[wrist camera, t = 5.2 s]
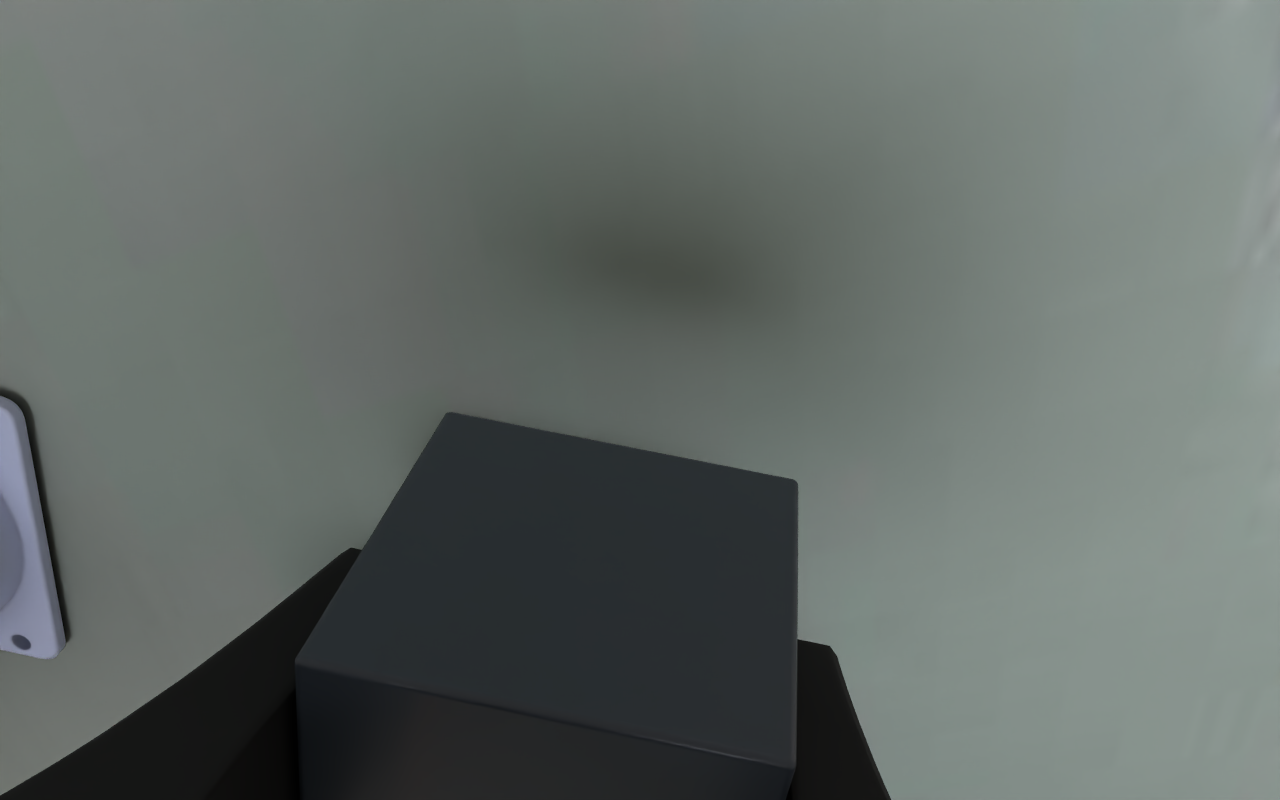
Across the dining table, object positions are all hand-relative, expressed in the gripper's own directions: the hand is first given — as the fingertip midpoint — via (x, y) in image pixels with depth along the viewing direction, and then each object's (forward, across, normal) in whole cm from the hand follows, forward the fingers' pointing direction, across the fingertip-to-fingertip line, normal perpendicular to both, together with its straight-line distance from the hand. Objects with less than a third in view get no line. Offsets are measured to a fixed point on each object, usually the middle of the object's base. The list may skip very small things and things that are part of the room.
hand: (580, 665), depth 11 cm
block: (+1, 0, 0) cm, 1 cm away
